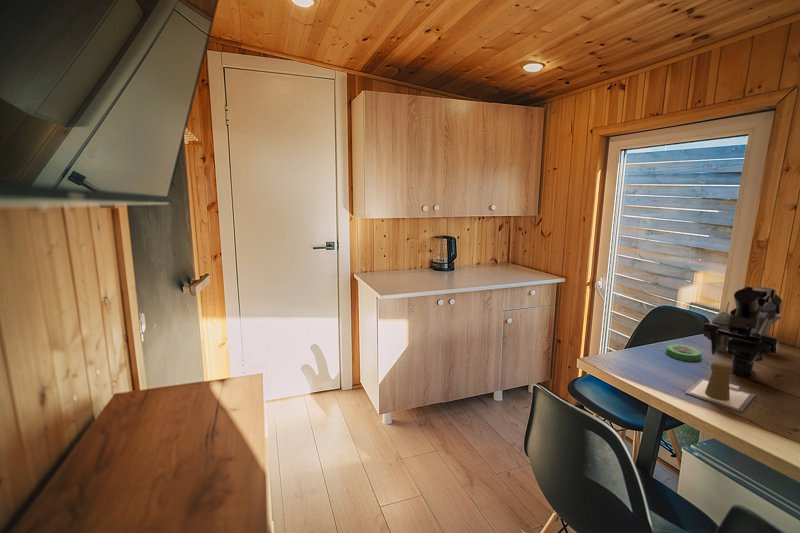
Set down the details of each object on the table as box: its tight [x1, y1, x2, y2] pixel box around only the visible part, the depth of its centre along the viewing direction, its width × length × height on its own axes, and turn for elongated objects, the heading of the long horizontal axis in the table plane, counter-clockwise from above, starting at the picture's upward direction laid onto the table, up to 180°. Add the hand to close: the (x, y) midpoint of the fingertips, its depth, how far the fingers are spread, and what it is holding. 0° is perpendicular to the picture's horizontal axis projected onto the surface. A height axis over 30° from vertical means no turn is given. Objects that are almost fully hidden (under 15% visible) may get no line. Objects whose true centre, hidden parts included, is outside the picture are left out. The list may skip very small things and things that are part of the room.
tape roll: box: [665, 344, 702, 362], centre depth 152 cm, size 11×11×3 cm
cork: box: [705, 360, 733, 401], centre depth 120 cm, size 6×6×11 cm
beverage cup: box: [711, 302, 731, 353], centre depth 155 cm, size 7×7×20 cm
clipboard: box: [684, 377, 756, 414], centre depth 123 cm, size 16×14×1 cm
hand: (730, 358), depth 124 cm, fingers open, 9 cm apart
